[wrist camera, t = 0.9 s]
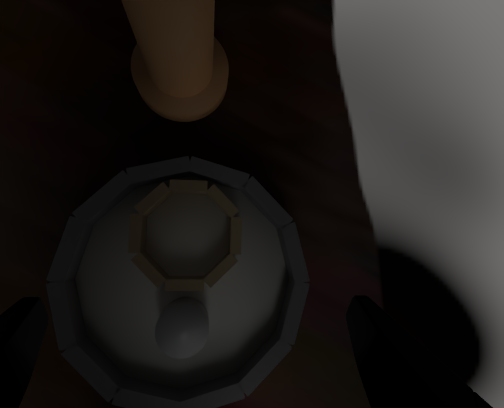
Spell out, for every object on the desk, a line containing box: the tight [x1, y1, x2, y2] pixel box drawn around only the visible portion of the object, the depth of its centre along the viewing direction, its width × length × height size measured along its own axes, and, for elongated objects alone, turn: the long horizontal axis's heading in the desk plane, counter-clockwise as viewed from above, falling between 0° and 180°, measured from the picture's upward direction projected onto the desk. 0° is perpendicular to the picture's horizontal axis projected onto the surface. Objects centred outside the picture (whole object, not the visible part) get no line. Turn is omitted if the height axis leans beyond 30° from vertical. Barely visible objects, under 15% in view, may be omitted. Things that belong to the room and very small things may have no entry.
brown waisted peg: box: [122, 0, 229, 122], centre depth 18 cm, size 6×6×12 cm
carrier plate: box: [46, 156, 310, 408], centre depth 21 cm, size 16×16×3 cm
